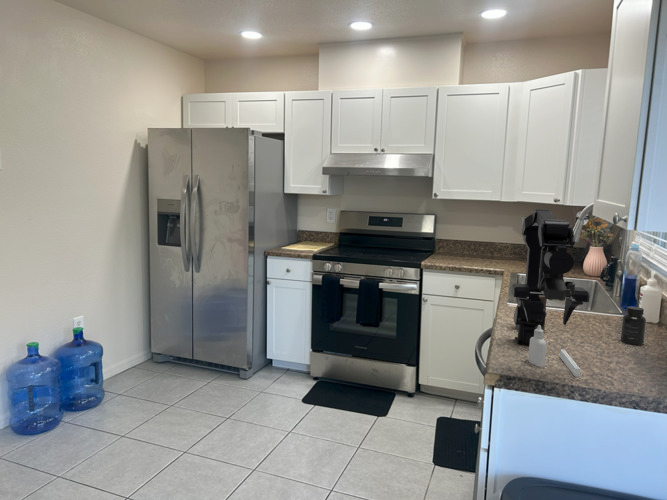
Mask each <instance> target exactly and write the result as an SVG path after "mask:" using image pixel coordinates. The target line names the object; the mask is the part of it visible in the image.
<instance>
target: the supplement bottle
mask: <svg viewBox="0 0 667 500" xmlns="http://www.w3.org/2000/svg"><path fill="white" fill-rule="evenodd" d="M643 315H644V308H643V307H639V306H633V305H632V306H631V305H630V306H627V307H626V314H624V315H623V316H622V319H621V320H622V321H621V331H620V332H621V333H620V341H621V342H622V343H624V344H627V345H631V346H642V345H644V344H645V338H646V336H645V335H646V326H647V319H646V317H645V316H643Z"/></svg>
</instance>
